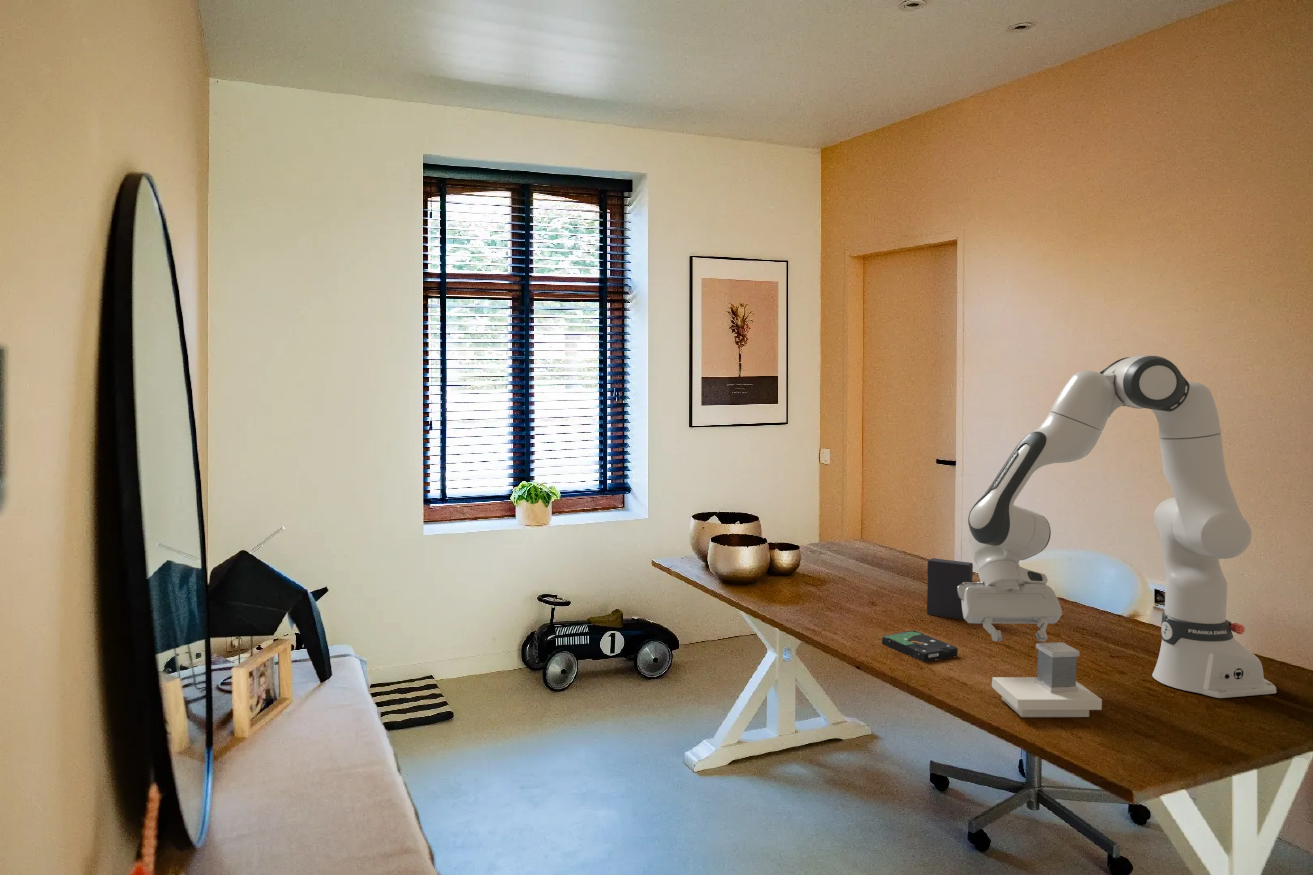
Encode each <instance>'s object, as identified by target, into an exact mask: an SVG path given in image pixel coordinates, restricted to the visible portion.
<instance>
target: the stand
mask: <svg viewBox="0 0 1313 875" xmlns="http://www.w3.org/2000/svg"><path fill="white" fill-rule="evenodd" d="M1035 678H1037V676H1036V677H1035V676H1034V677H1033V676H1025V677H1024V676H1022V677H1021V676H1019V677H1018V676H1013V677H1011V676H1009V677H1008V676H1006V677H1003V676H998V677H997V676H996V677H994V676H993V677H992V679H991V688H992V689H994V690H995V692H997V693H998V694H999V695H1000V696H1001V700H1002V701H1003V702H1004V703H1005V704H1007V705H1008V706H1009V707H1010V709H1012V710H1013V711H1014V712H1015V713H1017V715H1019V716H1020V717H1021V718H1089V717H1090V711H1102V709H1103V708H1102V707H1103V706H1102V705H1103V704H1102V703H1103V699H1102V698H1101V697H1099V696H1098V695H1096V694H1095V693H1093V692H1092V691H1091V690H1089V689H1088V688H1087V687H1085V686H1083V685H1082V684H1081V683H1079V682H1078V681H1077V680H1076V686H1078V692H1062V693H1050V692H1048V691H1047V690H1045V689H1044V688H1042V687H1040V686H1039V685H1037V684H1036V683H1034V682H1035Z"/></svg>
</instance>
